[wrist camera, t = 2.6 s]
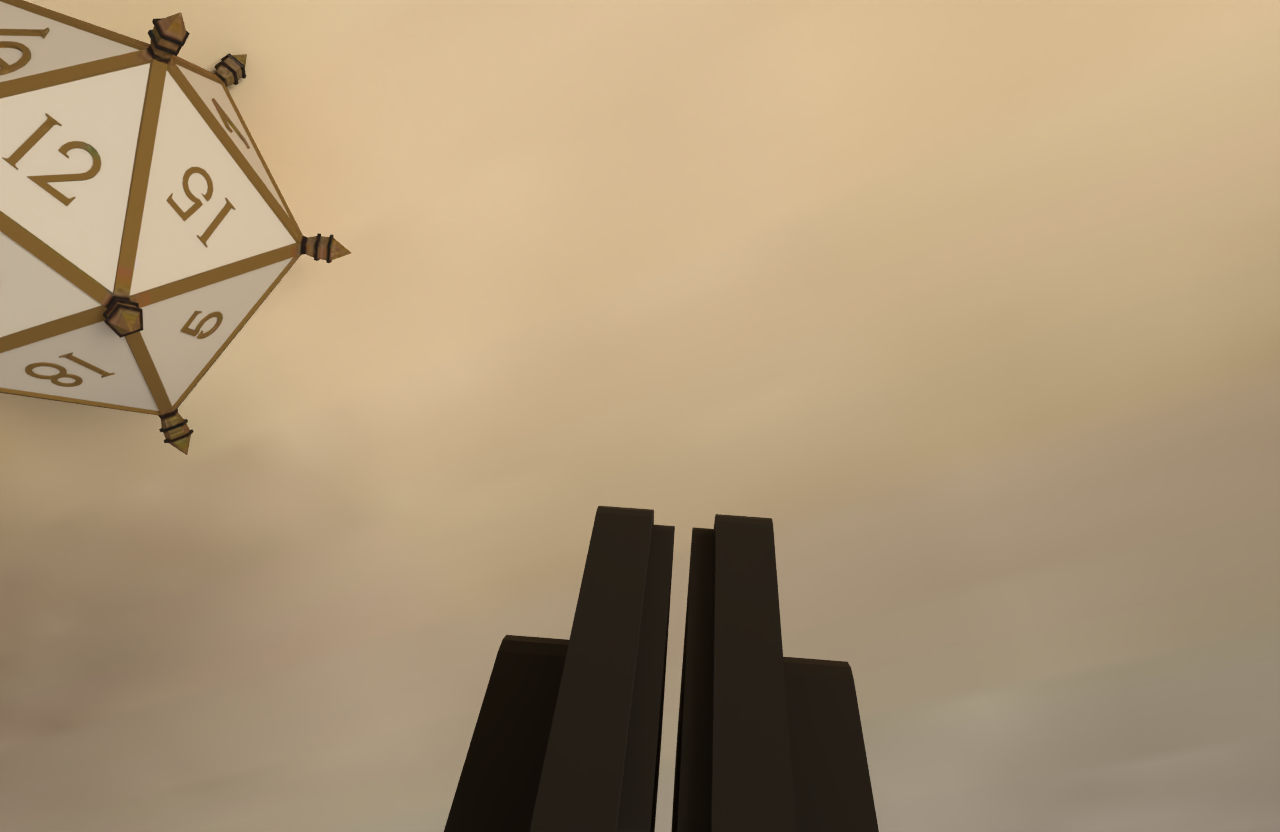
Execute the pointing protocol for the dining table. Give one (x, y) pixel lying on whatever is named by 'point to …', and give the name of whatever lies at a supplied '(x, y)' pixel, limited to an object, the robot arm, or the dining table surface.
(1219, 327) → the dining table surface
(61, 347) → the game die
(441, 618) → the dining table surface
